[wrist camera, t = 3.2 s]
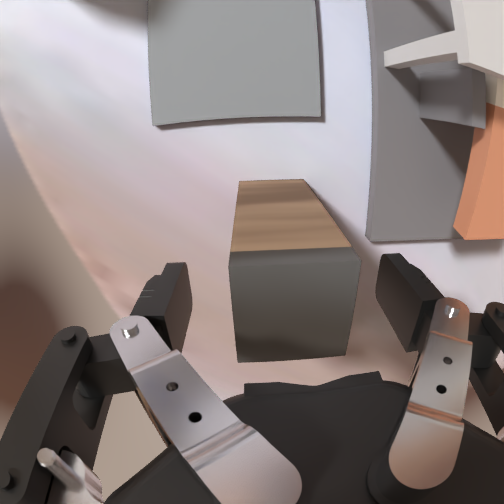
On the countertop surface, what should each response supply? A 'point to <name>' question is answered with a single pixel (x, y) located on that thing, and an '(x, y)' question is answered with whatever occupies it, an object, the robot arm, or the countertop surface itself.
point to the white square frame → (427, 109)
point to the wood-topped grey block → (289, 275)
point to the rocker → (485, 173)
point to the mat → (232, 59)
